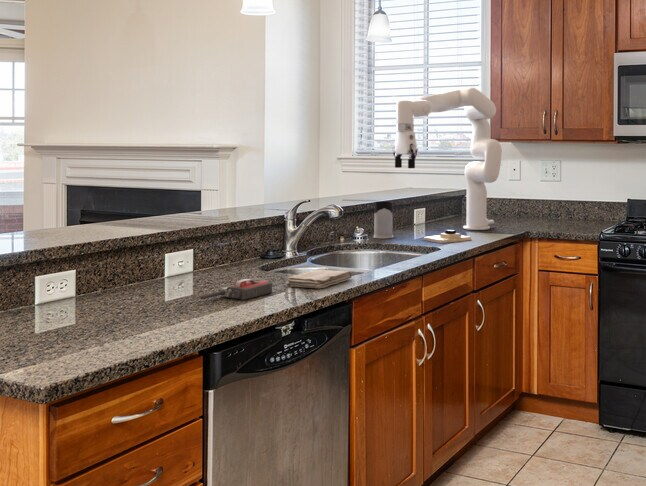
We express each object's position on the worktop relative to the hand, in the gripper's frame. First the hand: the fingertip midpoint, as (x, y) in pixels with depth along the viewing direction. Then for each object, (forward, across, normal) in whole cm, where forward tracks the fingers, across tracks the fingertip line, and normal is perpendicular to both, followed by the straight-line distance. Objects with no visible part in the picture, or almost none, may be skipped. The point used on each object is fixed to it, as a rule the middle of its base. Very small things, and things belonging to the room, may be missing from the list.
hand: (404, 167), depth 322 cm
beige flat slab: (+30, -20, -7) cm, 37 cm away
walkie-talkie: (+30, -74, +107) cm, 133 cm away
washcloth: (+30, -70, +80) cm, 111 cm away
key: (+27, -22, -7) cm, 36 cm away
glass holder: (+30, +7, +7) cm, 31 cm away
